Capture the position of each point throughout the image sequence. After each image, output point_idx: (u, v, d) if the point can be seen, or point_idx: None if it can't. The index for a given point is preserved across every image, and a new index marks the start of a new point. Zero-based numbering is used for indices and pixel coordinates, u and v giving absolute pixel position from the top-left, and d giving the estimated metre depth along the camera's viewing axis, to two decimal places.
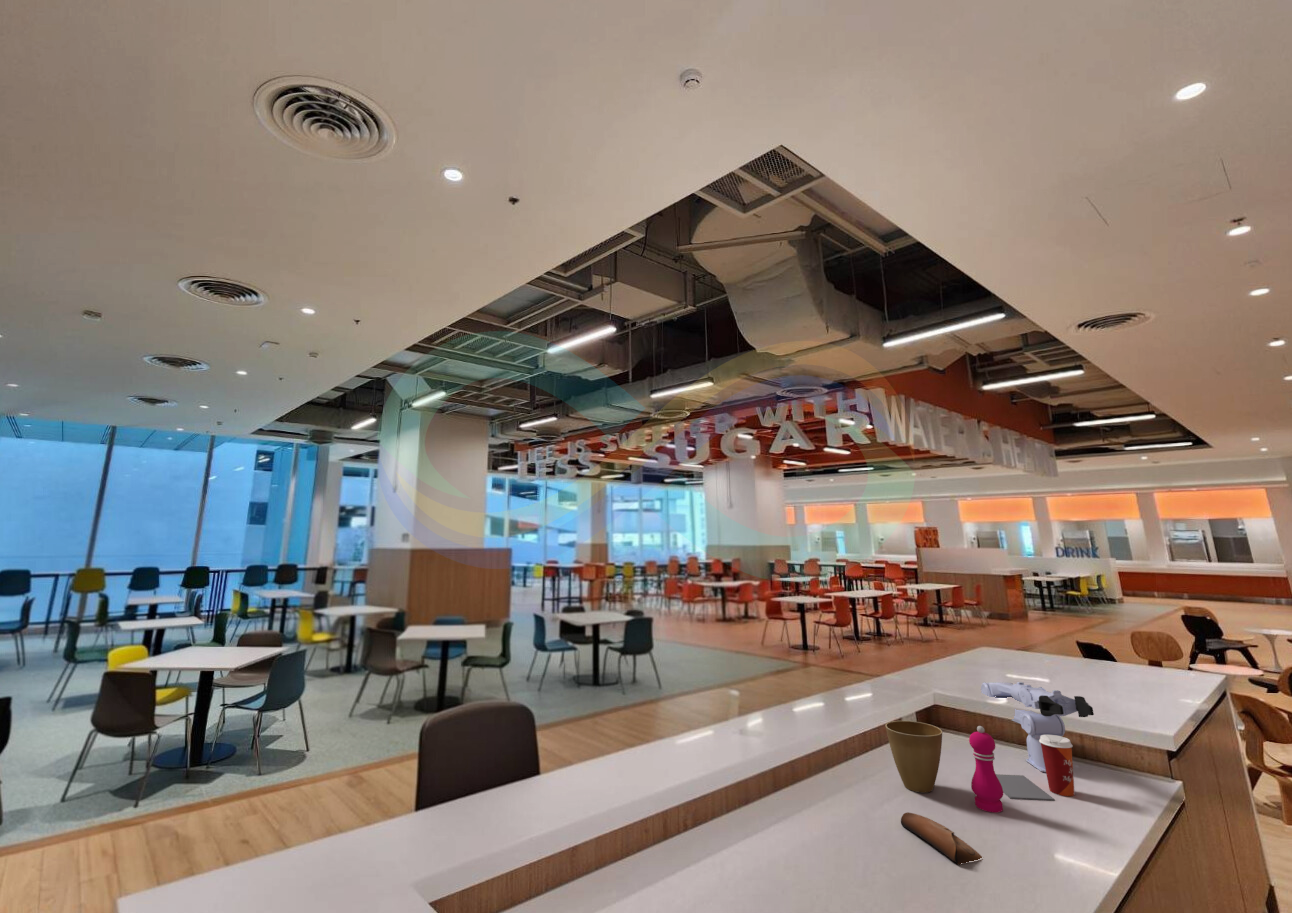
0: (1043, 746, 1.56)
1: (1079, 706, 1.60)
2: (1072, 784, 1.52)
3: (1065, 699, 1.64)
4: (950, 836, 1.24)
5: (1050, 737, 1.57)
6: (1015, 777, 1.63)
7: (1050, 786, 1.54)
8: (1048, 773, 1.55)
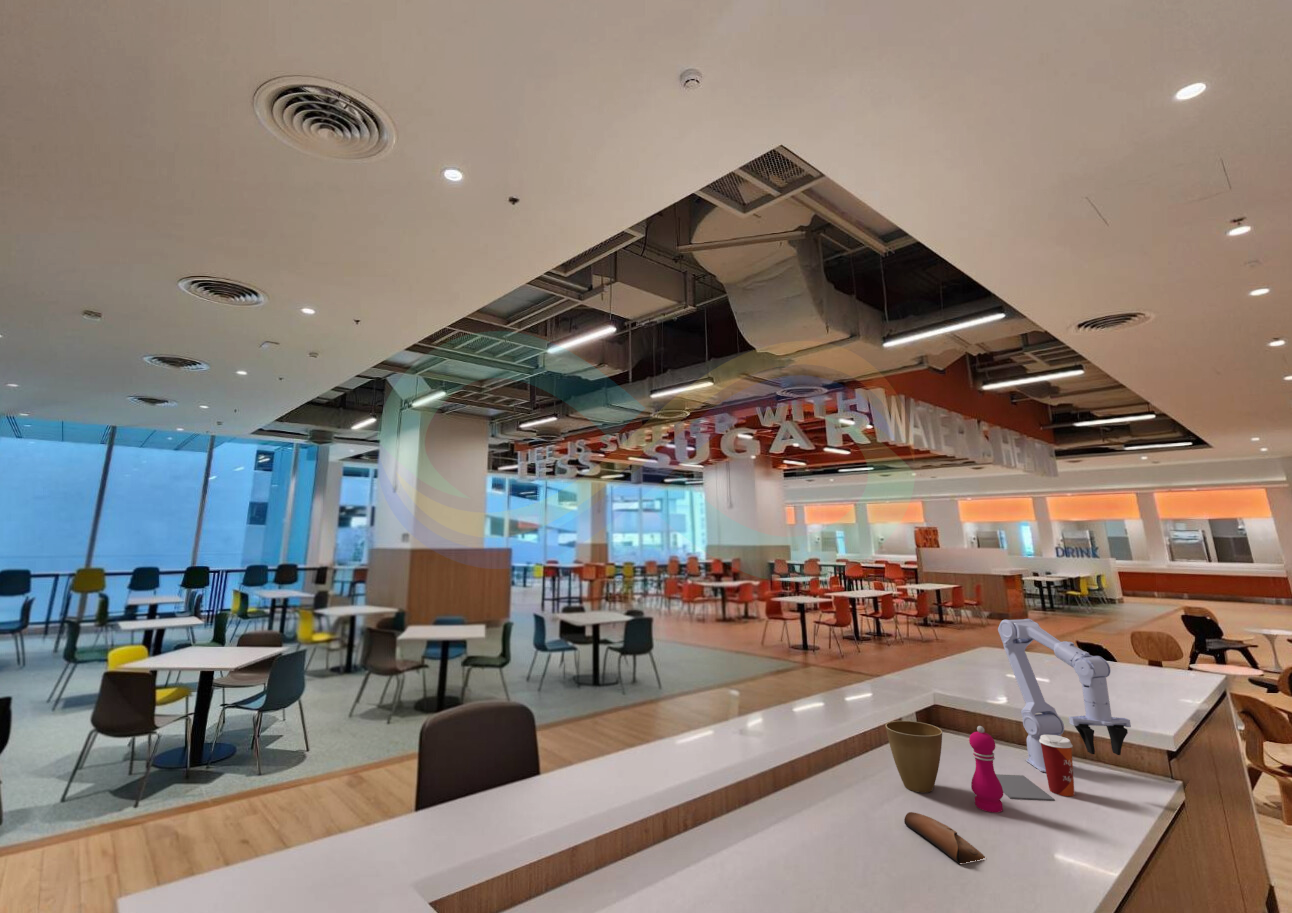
0: (1043, 746, 1.56)
1: (1113, 733, 1.54)
2: (1072, 784, 1.52)
3: None
4: (952, 836, 1.24)
5: (1050, 737, 1.57)
6: (1015, 777, 1.63)
7: (1050, 786, 1.54)
8: (1048, 773, 1.55)
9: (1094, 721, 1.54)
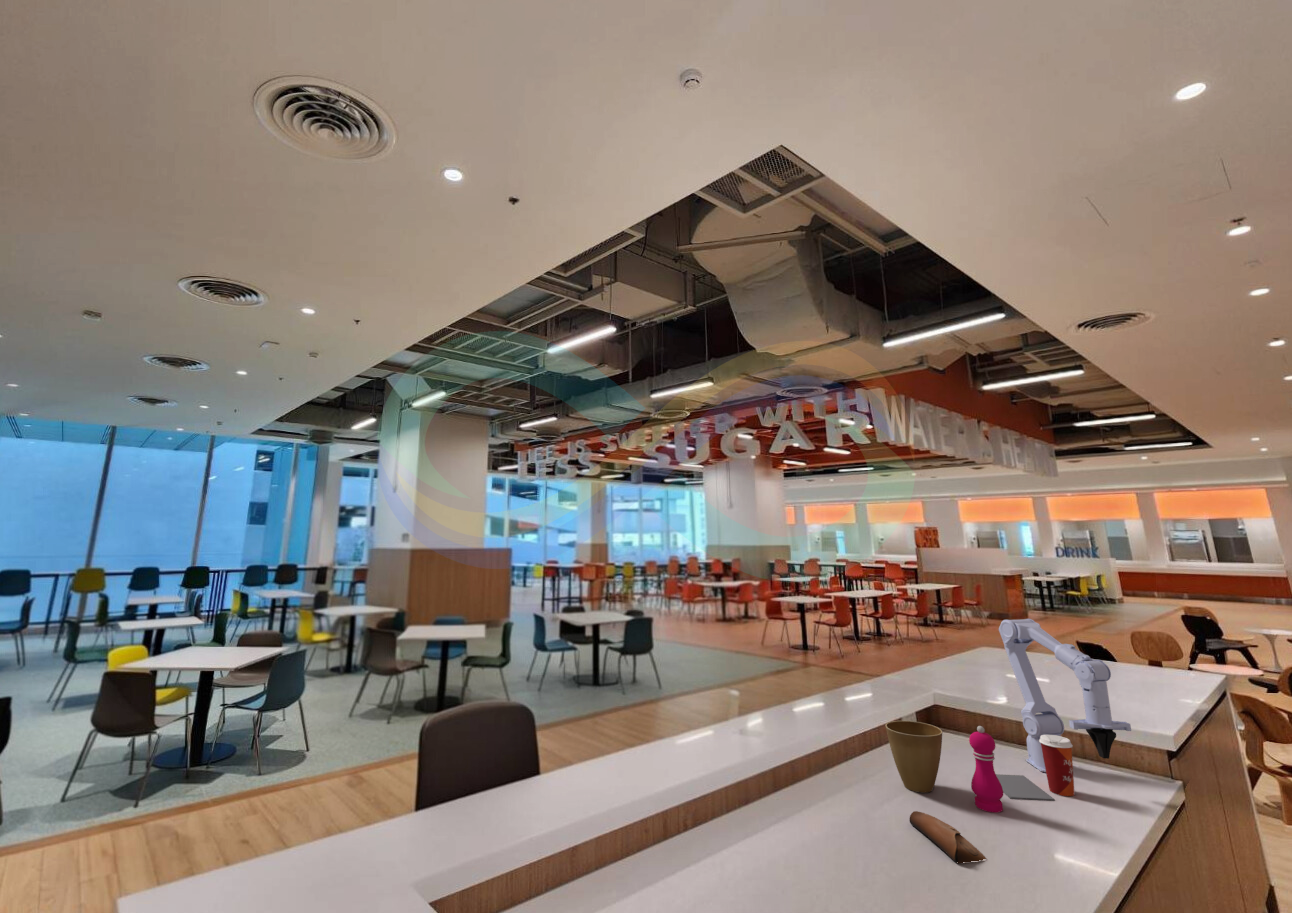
0: (1043, 746, 1.56)
1: None
2: (1072, 784, 1.52)
3: None
4: (953, 836, 1.24)
5: (1050, 737, 1.57)
6: (1015, 777, 1.63)
7: (1050, 786, 1.54)
8: (1048, 773, 1.55)
9: (1094, 725, 1.53)
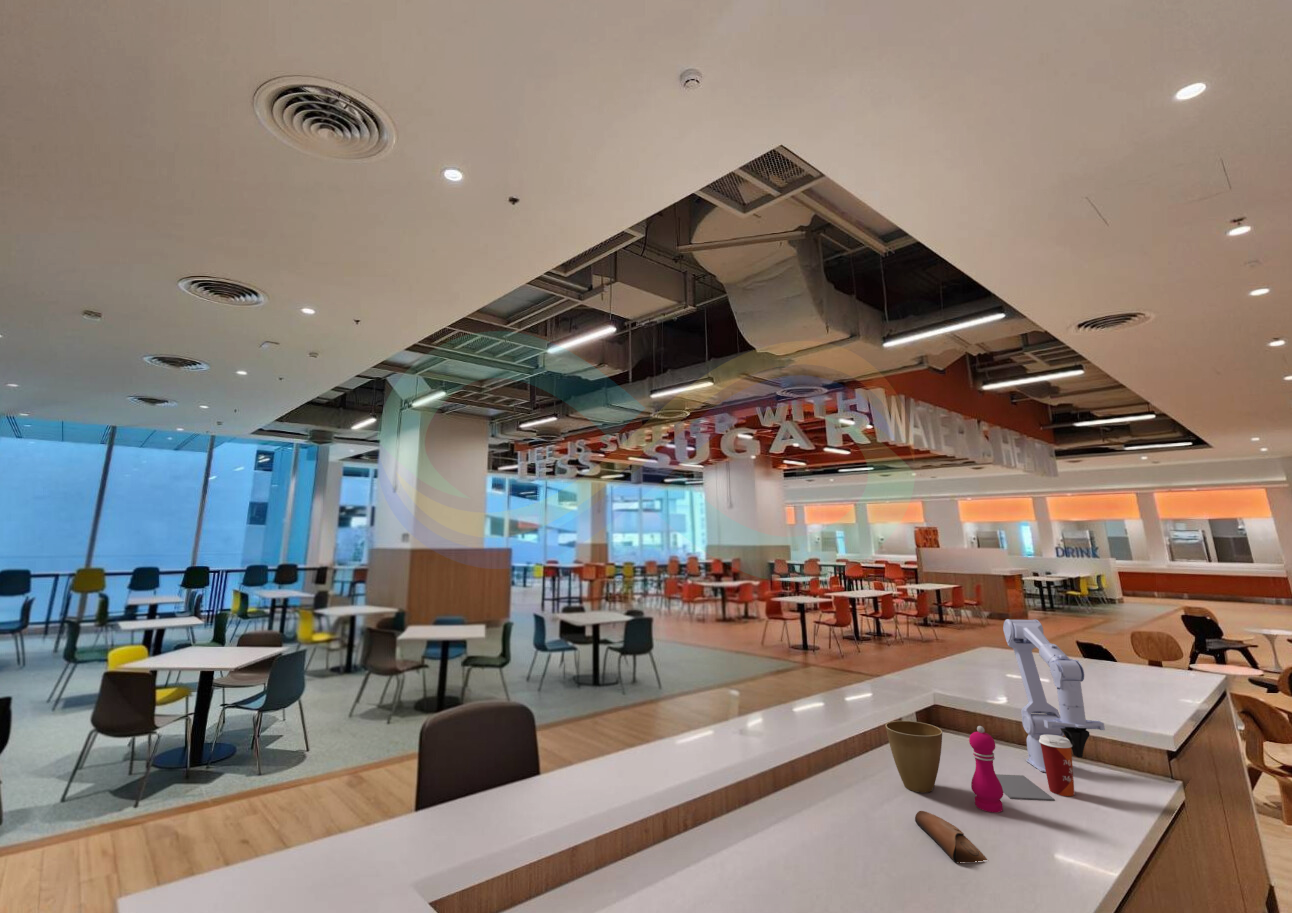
0: (1043, 746, 1.56)
1: None
2: (1072, 784, 1.52)
3: None
4: (953, 835, 1.24)
5: (1050, 737, 1.57)
6: (1015, 777, 1.63)
7: (1050, 786, 1.54)
8: (1048, 773, 1.55)
9: (1068, 724, 1.54)
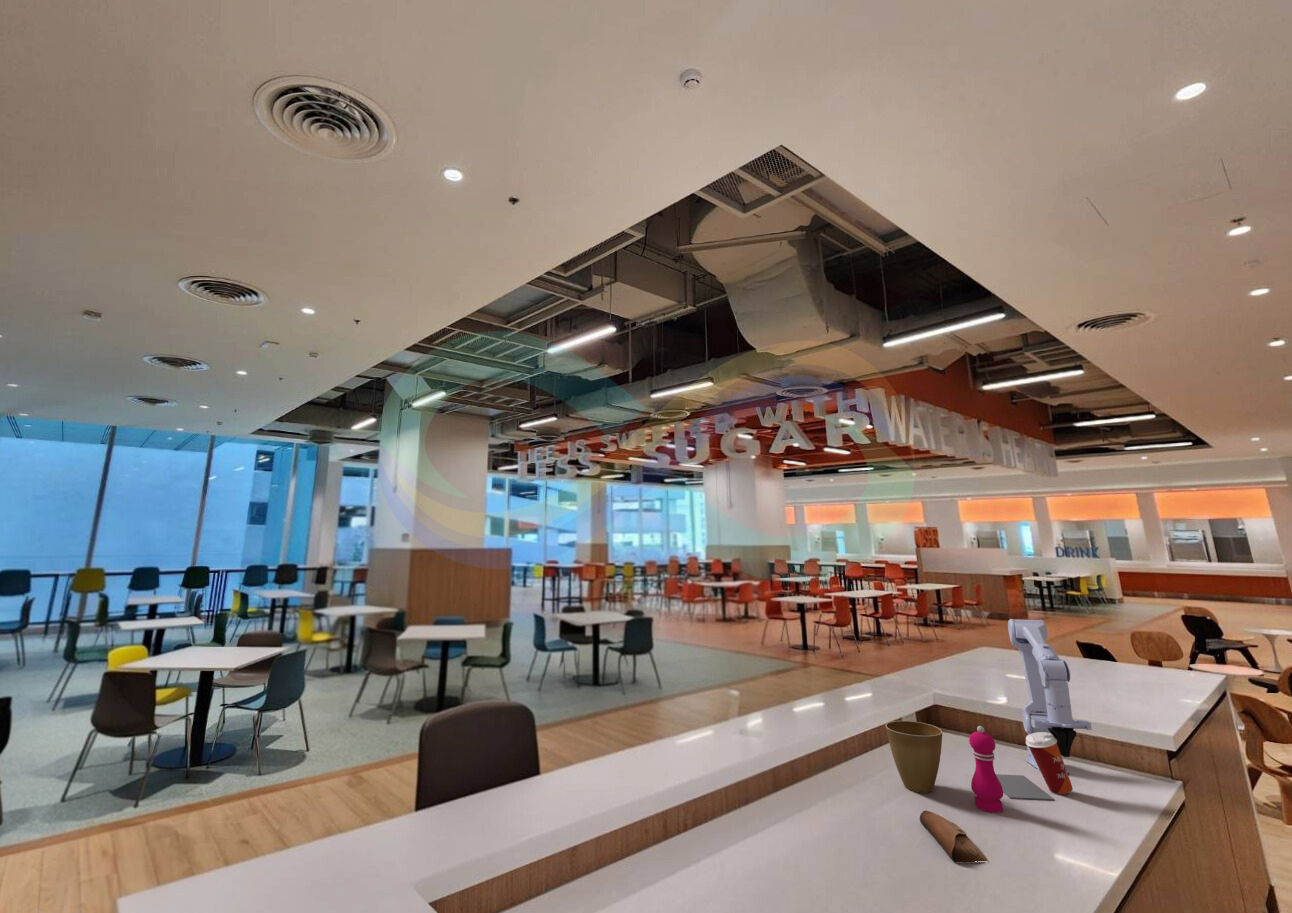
0: (1031, 748, 1.56)
1: None
2: (1067, 779, 1.52)
3: None
4: (954, 835, 1.24)
5: (1035, 737, 1.58)
6: (1015, 777, 1.63)
7: (1048, 786, 1.54)
8: (1043, 774, 1.55)
9: (1055, 724, 1.55)
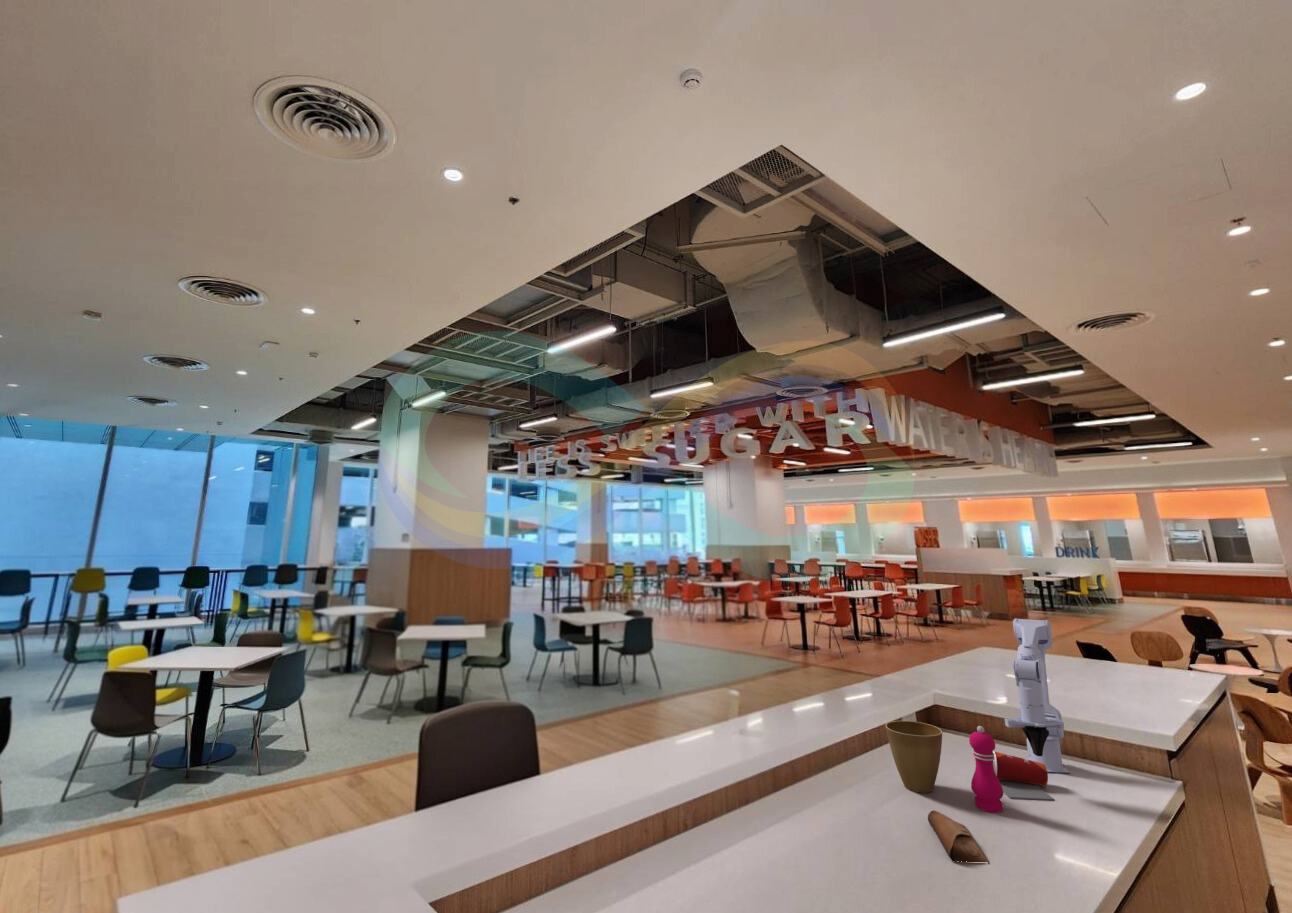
0: (1000, 771, 1.59)
1: None
2: None
3: None
4: (955, 835, 1.24)
5: None
6: None
7: (1042, 779, 1.56)
8: (1028, 776, 1.57)
9: (1028, 723, 1.56)
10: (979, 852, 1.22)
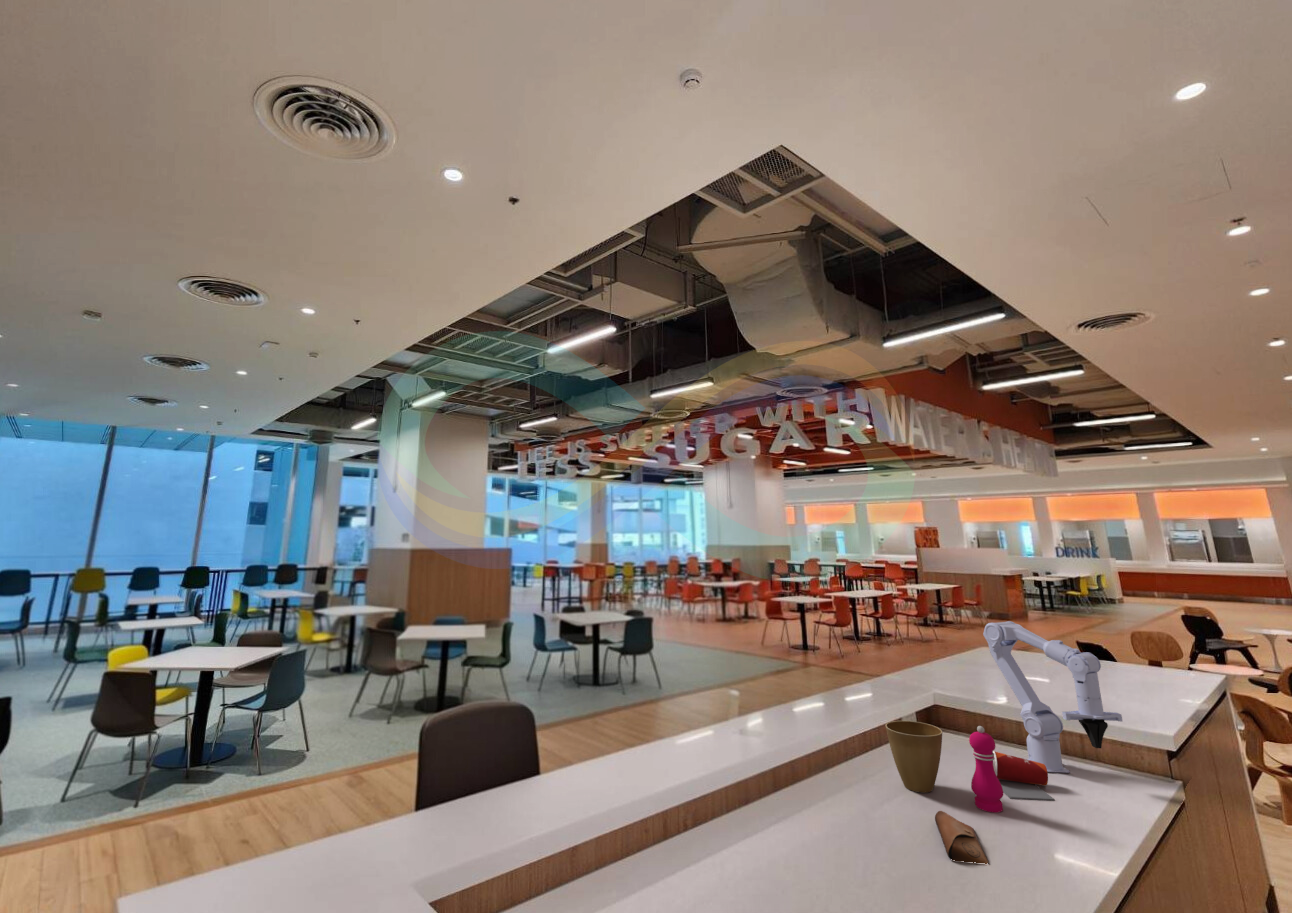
0: (1000, 771, 1.59)
1: None
2: None
3: None
4: (955, 835, 1.24)
5: None
6: None
7: (1042, 779, 1.56)
8: (1028, 776, 1.57)
9: (1086, 715, 1.59)
10: (980, 853, 1.22)
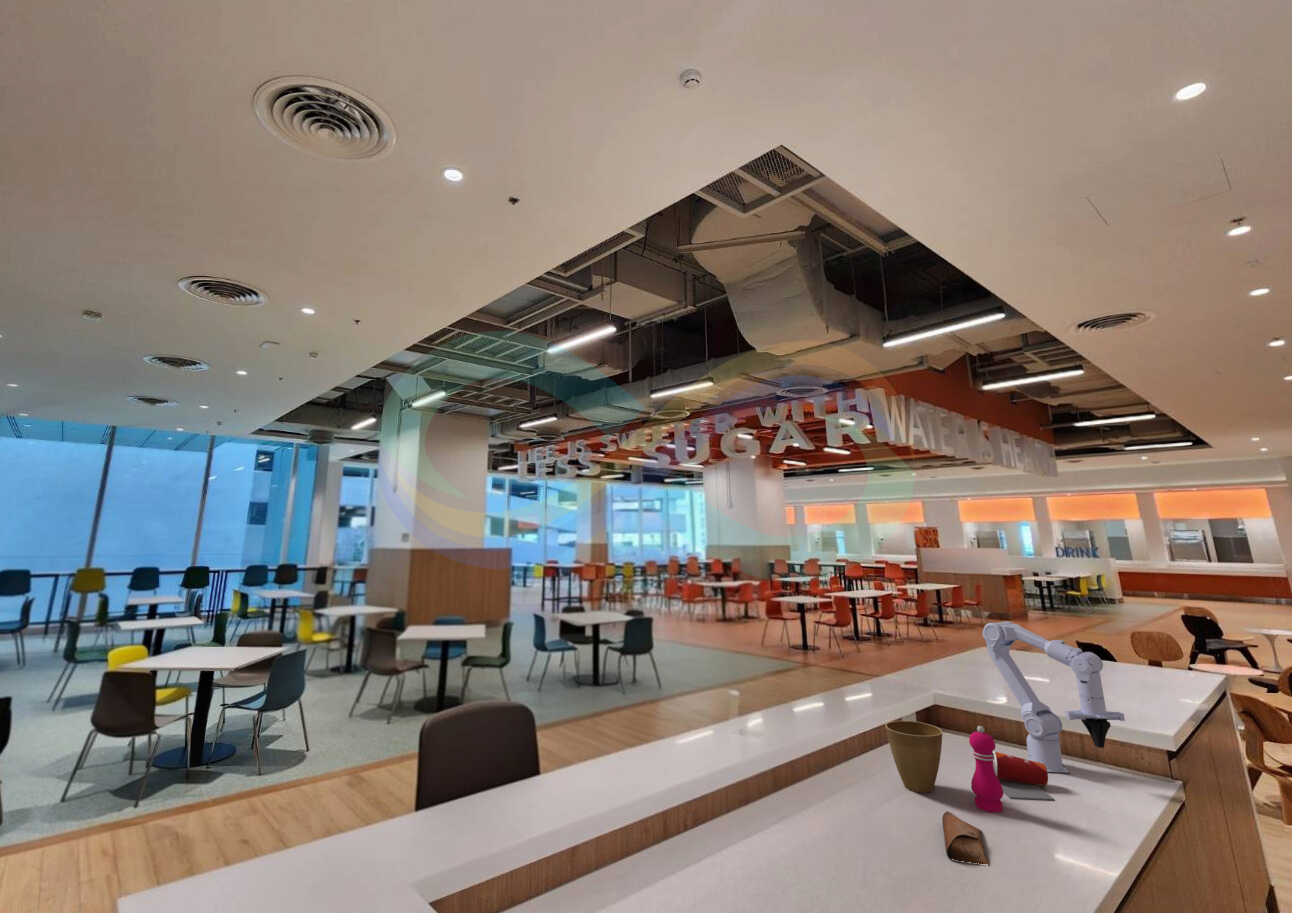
0: (1000, 771, 1.59)
1: None
2: None
3: None
4: (956, 835, 1.24)
5: None
6: None
7: (1042, 779, 1.56)
8: (1028, 776, 1.57)
9: (1089, 715, 1.59)
10: (980, 854, 1.21)
